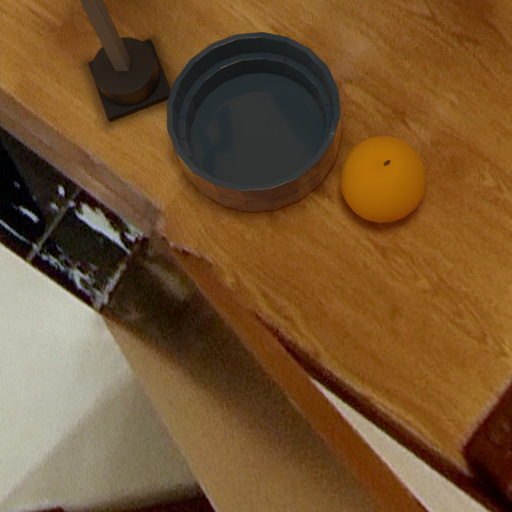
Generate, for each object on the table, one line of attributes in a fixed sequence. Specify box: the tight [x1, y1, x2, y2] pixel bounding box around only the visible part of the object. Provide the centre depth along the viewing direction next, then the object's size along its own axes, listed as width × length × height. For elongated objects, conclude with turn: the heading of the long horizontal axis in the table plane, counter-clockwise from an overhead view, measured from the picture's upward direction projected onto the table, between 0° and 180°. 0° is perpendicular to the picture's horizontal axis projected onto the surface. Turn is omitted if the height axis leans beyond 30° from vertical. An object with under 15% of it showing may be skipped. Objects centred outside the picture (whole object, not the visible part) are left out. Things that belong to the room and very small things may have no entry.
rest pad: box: [87, 38, 172, 123], centre depth 88 cm, size 7×7×1 cm
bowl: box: [166, 31, 342, 212], centre depth 83 cm, size 16×16×6 cm
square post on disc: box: [79, 0, 160, 106], centre depth 77 cm, size 6×6×24 cm
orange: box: [339, 135, 427, 224], centre depth 79 cm, size 8×8×8 cm
